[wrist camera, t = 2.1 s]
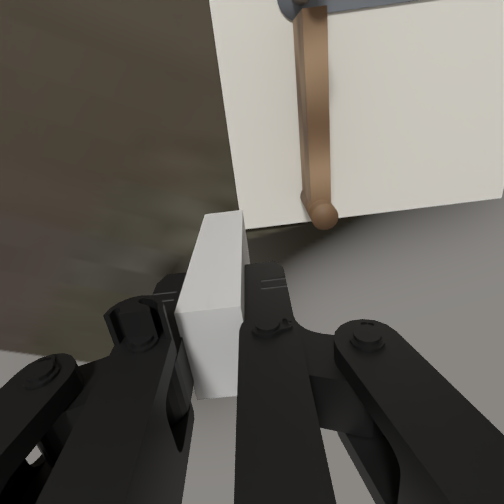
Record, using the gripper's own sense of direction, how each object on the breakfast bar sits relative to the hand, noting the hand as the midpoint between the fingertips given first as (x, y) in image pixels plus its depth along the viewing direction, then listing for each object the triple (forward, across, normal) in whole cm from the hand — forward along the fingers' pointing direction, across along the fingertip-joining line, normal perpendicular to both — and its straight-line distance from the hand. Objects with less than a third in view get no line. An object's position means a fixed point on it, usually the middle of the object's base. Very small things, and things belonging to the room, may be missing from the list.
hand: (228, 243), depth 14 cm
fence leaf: (+14, +6, +3) cm, 16 cm away
